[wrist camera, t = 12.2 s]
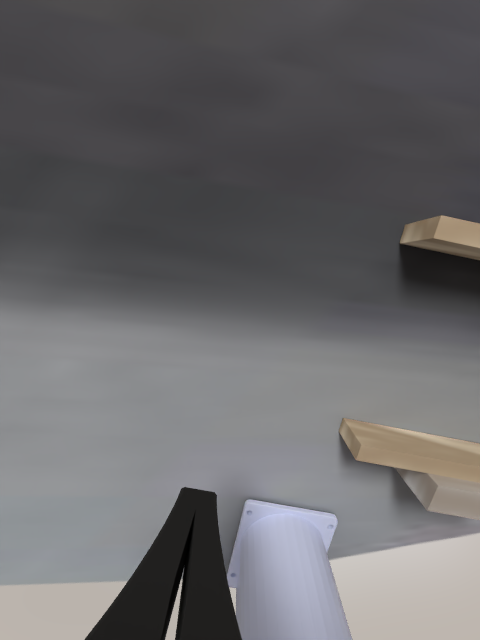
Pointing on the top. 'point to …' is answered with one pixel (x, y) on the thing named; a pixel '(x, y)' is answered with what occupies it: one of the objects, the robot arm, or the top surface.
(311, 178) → the top surface
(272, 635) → the robot arm
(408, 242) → the guide channel
